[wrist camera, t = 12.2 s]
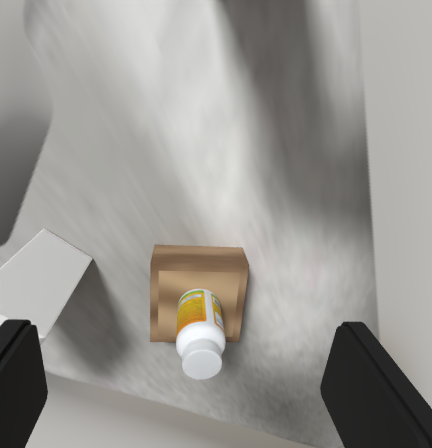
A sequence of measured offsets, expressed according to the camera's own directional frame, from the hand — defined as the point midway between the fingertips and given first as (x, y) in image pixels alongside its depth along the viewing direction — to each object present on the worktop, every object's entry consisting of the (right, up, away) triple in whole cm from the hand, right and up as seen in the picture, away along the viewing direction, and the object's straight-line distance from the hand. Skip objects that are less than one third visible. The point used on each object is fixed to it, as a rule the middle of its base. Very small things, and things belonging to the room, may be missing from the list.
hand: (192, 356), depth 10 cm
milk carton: (-21, -1, +31) cm, 38 cm away
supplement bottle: (-1, -6, +30) cm, 31 cm away
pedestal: (-2, -4, +34) cm, 35 cm away
